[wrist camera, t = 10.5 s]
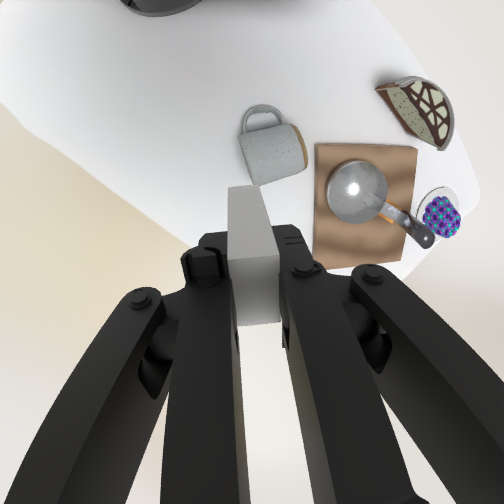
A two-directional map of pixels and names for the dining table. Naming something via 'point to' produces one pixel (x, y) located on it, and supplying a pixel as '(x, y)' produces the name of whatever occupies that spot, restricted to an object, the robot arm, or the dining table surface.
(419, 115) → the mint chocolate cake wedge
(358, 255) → the wooden cutting board
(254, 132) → the ceramic mug
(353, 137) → the dining table surface
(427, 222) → the pudding
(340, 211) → the steel serving spoon
